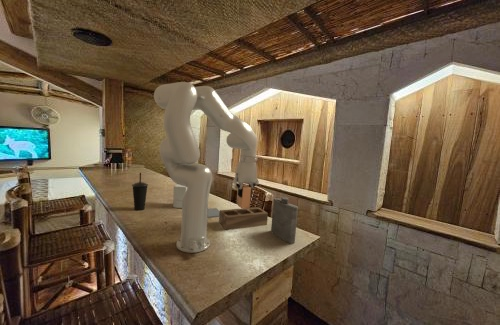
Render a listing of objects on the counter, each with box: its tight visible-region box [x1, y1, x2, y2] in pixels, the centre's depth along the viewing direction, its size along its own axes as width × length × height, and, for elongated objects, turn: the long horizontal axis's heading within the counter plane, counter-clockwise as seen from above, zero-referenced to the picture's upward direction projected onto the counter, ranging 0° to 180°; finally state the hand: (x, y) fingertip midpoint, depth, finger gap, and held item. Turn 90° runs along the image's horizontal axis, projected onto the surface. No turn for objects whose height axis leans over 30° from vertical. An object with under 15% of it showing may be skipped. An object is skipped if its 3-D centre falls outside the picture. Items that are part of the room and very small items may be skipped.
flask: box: [270, 196, 299, 245], centre depth 98 cm, size 4×14×18 cm, turn 34°
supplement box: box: [172, 184, 187, 209], centre depth 129 cm, size 7×7×13 cm
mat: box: [207, 207, 220, 219], centre depth 121 cm, size 12×12×1 cm
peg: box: [237, 185, 252, 209], centre depth 109 cm, size 4×4×10 cm
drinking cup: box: [131, 172, 149, 212], centre depth 118 cm, size 8×8×20 cm
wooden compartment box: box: [218, 206, 269, 231], centre depth 110 cm, size 10×22×6 cm, turn 117°
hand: (244, 196), depth 109 cm, fingers closed on peg, 4 cm apart
